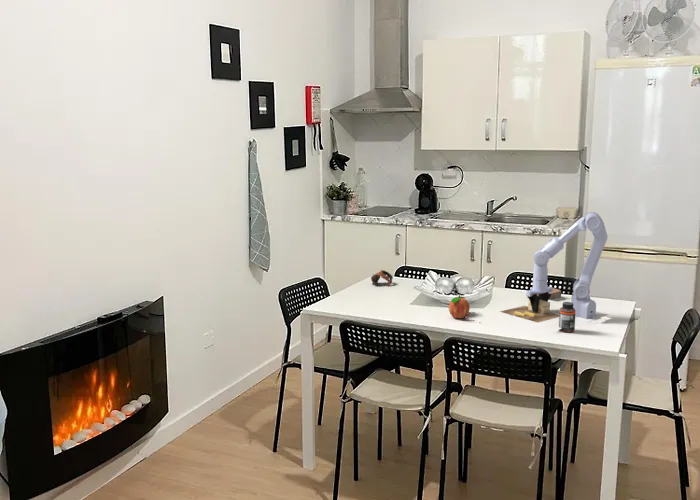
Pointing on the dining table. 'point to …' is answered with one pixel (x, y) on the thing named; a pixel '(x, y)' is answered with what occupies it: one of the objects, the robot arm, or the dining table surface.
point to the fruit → (459, 307)
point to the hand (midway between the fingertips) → (538, 310)
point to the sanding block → (541, 307)
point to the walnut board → (532, 318)
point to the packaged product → (555, 295)
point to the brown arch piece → (383, 275)
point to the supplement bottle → (567, 318)
